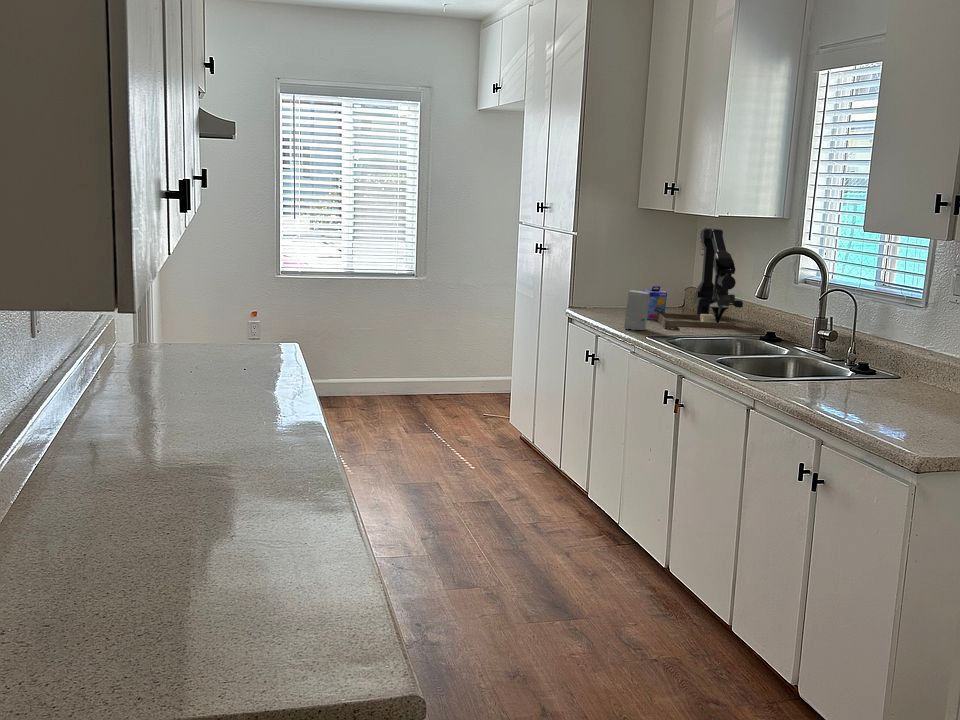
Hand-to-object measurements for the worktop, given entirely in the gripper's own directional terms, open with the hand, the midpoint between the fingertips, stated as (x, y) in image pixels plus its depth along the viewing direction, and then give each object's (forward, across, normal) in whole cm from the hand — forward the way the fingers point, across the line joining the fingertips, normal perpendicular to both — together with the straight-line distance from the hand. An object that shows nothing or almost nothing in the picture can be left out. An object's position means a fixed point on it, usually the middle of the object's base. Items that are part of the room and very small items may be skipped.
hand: (717, 322), depth 397 cm
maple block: (0, -4, 0) cm, 4 cm away
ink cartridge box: (+2, -25, +15) cm, 29 cm away
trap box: (+2, -9, 0) cm, 10 cm away
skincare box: (+2, -37, -13) cm, 39 cm away
